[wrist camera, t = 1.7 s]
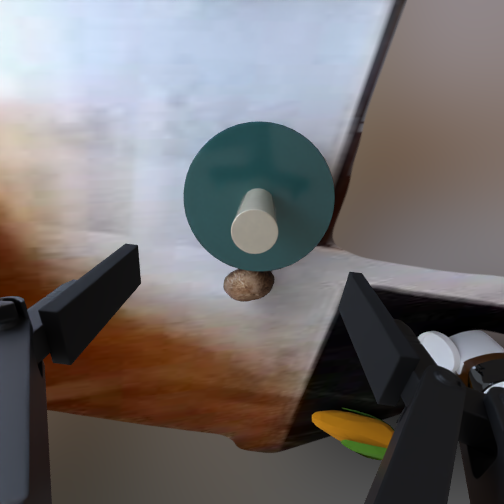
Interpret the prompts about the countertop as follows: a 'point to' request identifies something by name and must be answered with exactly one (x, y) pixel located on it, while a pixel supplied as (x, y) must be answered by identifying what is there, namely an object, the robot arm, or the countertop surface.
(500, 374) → the spread jar
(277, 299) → the countertop surface
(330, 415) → the corn
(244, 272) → the mushroom
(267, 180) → the lid
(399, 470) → the robot arm
